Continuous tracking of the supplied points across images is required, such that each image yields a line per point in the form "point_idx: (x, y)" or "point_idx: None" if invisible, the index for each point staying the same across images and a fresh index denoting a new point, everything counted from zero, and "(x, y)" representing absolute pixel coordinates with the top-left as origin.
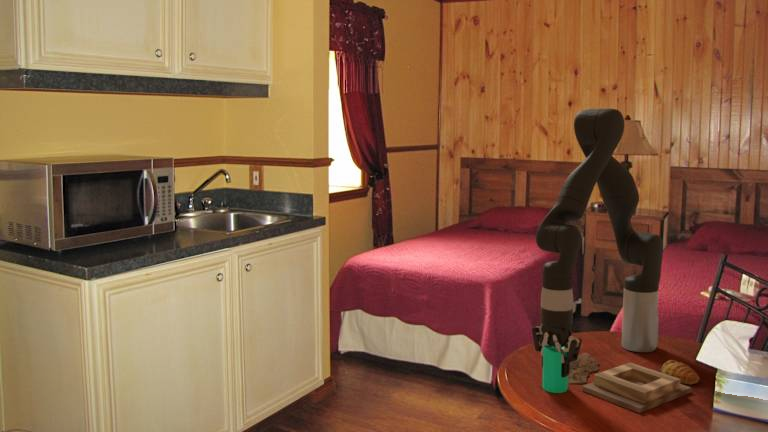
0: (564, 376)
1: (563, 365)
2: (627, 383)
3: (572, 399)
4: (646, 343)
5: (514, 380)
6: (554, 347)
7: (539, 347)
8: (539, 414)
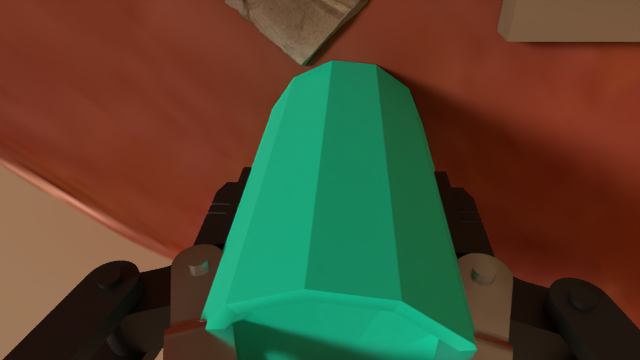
0: None
1: None
2: None
3: (514, 175)
4: None
5: (141, 208)
6: (290, 355)
7: (148, 354)
8: None
